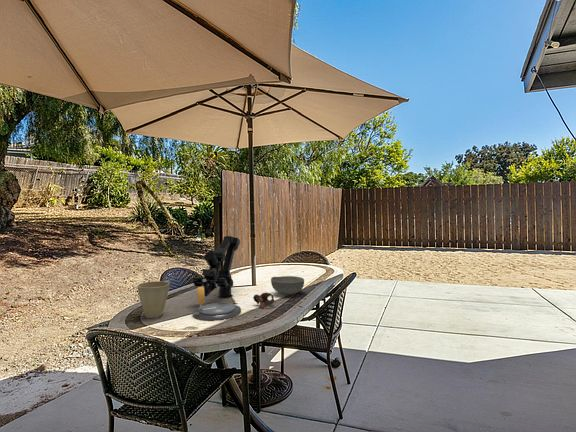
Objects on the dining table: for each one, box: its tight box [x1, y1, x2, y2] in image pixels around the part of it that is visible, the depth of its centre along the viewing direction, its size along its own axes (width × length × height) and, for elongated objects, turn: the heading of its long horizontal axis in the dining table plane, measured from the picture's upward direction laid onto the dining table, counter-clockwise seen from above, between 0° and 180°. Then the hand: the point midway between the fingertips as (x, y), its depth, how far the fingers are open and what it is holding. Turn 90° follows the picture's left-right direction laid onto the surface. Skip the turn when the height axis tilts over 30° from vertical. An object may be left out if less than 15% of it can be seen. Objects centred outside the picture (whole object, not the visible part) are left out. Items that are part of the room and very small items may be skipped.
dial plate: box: [192, 304, 242, 322], centre depth 178 cm, size 24×24×2 cm
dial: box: [196, 286, 235, 316], centre depth 178 cm, size 19×18×12 cm
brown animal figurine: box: [252, 292, 275, 309], centre depth 189 cm, size 12×10×8 cm
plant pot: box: [137, 280, 170, 319], centre depth 175 cm, size 15×15×16 cm
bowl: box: [270, 275, 305, 296], centre depth 214 cm, size 20×20×10 cm
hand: (205, 296), depth 184 cm, fingers closed
